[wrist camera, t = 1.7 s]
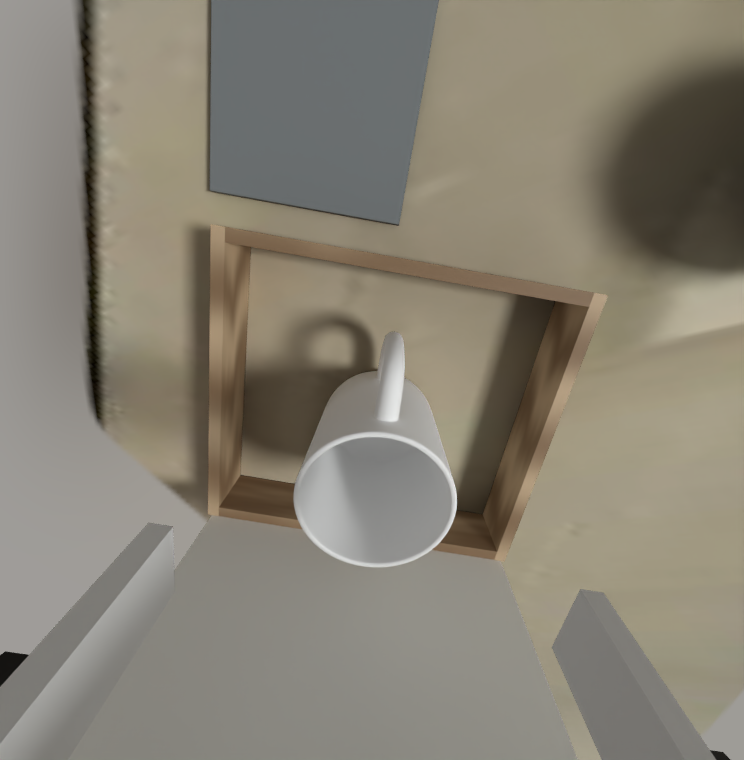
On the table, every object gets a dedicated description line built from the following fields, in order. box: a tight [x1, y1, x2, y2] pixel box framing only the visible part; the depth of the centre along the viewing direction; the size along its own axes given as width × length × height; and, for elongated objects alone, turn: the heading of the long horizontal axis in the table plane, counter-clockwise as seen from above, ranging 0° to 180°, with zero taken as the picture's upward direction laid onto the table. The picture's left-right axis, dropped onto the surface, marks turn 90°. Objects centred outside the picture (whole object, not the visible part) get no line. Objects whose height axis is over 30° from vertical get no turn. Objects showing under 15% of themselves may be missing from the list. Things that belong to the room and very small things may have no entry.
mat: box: [210, 0, 439, 225], centre depth 19 cm, size 16×12×1 cm
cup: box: [293, 331, 457, 567], centre depth 21 cm, size 8×12×10 cm
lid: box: [68, 515, 578, 760], centre depth 19 cm, size 3×22×24 cm, turn 80°
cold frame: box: [208, 224, 608, 562], centre depth 24 cm, size 20×23×4 cm
